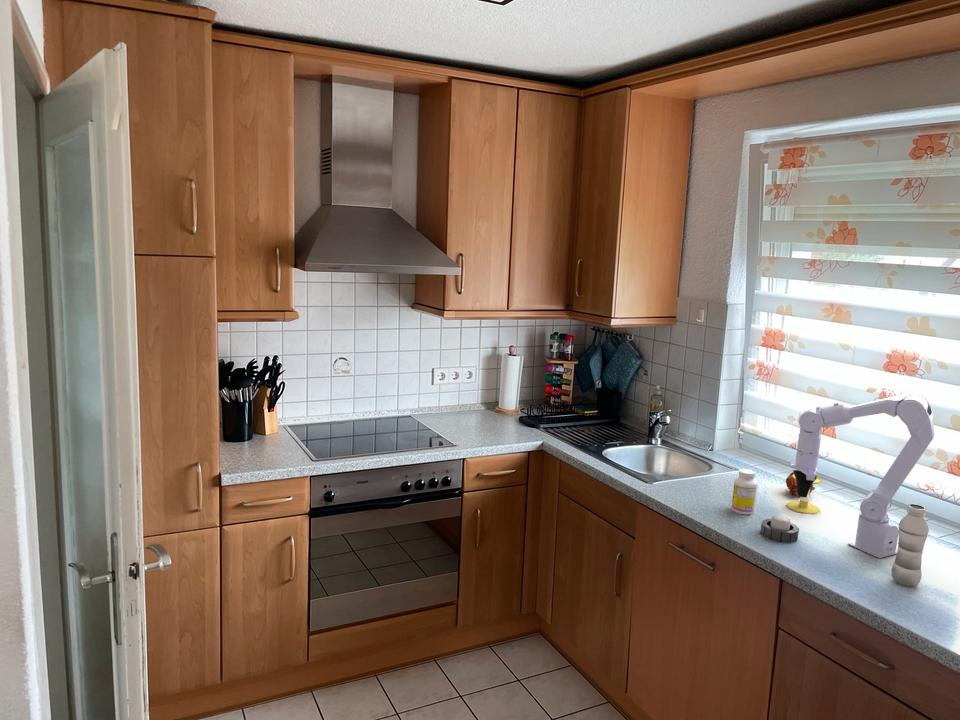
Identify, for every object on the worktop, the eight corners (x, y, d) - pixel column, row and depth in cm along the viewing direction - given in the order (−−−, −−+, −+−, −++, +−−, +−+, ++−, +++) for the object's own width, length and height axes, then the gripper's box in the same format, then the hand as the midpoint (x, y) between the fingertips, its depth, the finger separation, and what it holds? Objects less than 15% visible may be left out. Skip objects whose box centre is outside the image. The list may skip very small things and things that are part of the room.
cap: (792, 537, 202) (794, 520, 201) (780, 540, 200) (782, 523, 199) (777, 531, 206) (779, 513, 205) (765, 533, 204) (767, 516, 203)
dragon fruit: (807, 494, 242) (794, 508, 234) (787, 475, 245) (773, 488, 237) (824, 480, 237) (811, 493, 228) (804, 461, 240) (790, 473, 232)
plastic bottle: (892, 586, 175) (904, 509, 172) (887, 574, 182) (899, 499, 178) (922, 592, 173) (935, 514, 170) (916, 580, 179) (929, 504, 176)
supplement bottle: (735, 505, 225) (740, 466, 222) (757, 511, 221) (762, 471, 218) (727, 511, 220) (732, 471, 217) (749, 517, 216) (754, 476, 213)
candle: (782, 508, 224) (792, 424, 220) (790, 499, 232) (801, 419, 227) (816, 516, 218) (828, 431, 214) (823, 507, 226) (835, 425, 222)
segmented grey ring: (804, 539, 201) (806, 529, 200) (780, 545, 196) (782, 534, 196) (777, 526, 209) (778, 517, 209) (753, 531, 205) (754, 521, 204)
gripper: (788, 442, 212) (782, 486, 214) (798, 456, 198) (791, 503, 201) (813, 445, 211) (807, 489, 213) (825, 459, 197) (819, 506, 199)
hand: (801, 496), depth 207 cm, fingers closed
